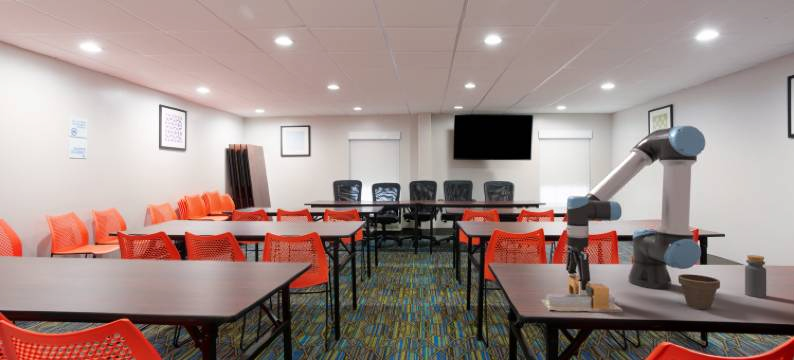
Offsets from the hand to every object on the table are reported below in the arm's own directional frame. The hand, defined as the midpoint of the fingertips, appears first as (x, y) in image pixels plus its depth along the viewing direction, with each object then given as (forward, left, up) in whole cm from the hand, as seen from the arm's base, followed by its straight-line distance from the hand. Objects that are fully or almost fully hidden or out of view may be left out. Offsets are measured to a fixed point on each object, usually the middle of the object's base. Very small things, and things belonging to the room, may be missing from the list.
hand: (577, 294), depth 144 cm
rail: (+5, +14, 0) cm, 15 cm away
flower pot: (-36, +12, 0) cm, 38 cm away
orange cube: (0, 0, 0) cm, 0 cm away
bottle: (-66, -1, 0) cm, 66 cm away
